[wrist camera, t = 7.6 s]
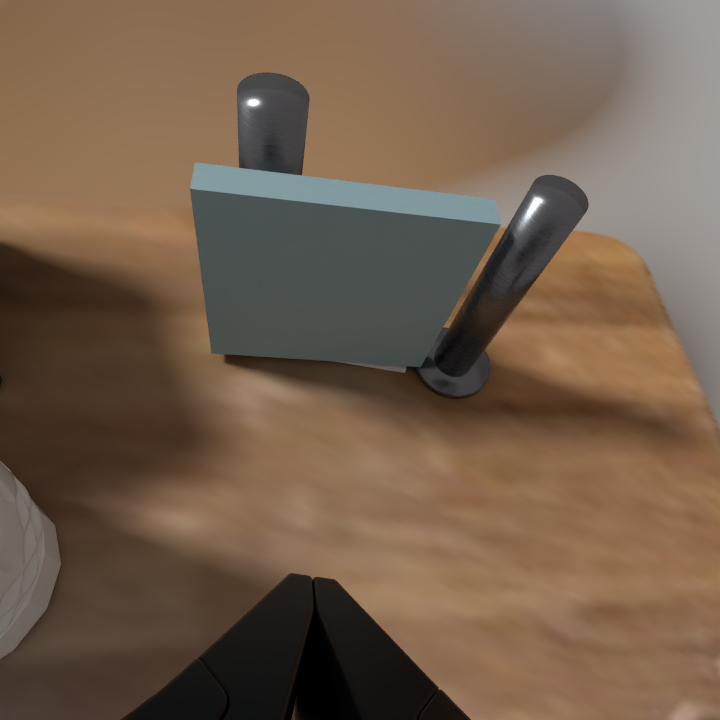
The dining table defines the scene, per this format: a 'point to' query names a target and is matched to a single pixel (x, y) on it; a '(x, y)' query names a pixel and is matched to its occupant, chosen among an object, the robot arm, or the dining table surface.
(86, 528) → the dining table surface
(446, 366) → the hinge post
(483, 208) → the gate
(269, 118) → the post
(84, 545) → the dining table surface
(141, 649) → the dining table surface
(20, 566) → the white cup
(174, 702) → the robot arm
